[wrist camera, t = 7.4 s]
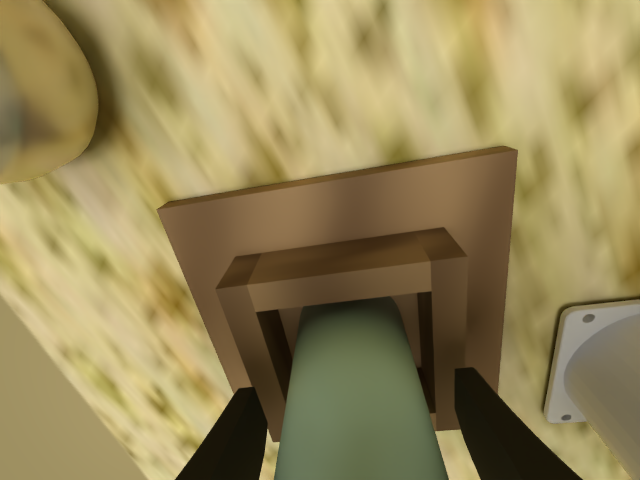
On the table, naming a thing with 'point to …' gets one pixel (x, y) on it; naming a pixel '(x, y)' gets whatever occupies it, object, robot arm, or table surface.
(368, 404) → the roll
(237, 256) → the brown piece
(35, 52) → the plastic bottle
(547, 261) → the table surface
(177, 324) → the table surface
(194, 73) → the table surface
